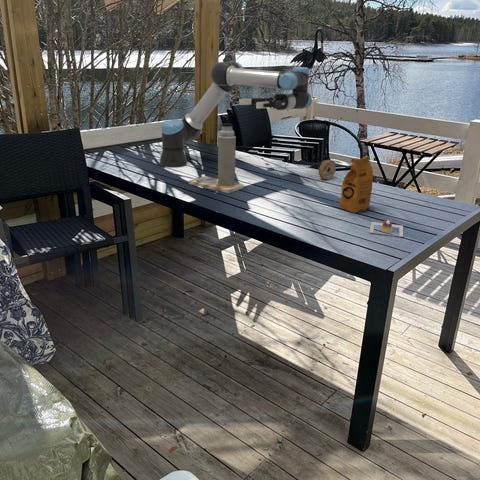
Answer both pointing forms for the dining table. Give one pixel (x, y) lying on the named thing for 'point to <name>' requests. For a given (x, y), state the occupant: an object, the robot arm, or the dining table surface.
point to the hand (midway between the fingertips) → (247, 103)
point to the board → (214, 184)
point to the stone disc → (327, 169)
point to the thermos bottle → (226, 156)
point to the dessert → (386, 228)
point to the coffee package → (357, 186)
